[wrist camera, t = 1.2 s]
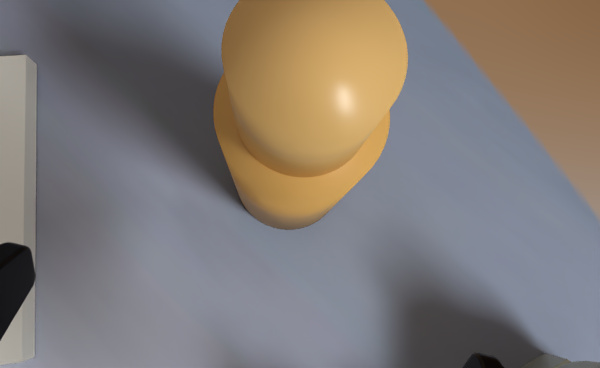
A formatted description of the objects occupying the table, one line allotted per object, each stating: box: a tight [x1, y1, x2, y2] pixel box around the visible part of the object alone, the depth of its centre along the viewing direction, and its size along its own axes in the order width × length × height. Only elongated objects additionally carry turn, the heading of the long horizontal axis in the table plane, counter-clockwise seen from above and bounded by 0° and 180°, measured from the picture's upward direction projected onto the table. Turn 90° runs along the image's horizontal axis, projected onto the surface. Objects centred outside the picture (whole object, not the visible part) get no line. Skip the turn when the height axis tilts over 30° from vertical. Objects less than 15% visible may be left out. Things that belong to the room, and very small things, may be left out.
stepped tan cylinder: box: [213, 0, 408, 230], centre depth 15 cm, size 5×5×12 cm
